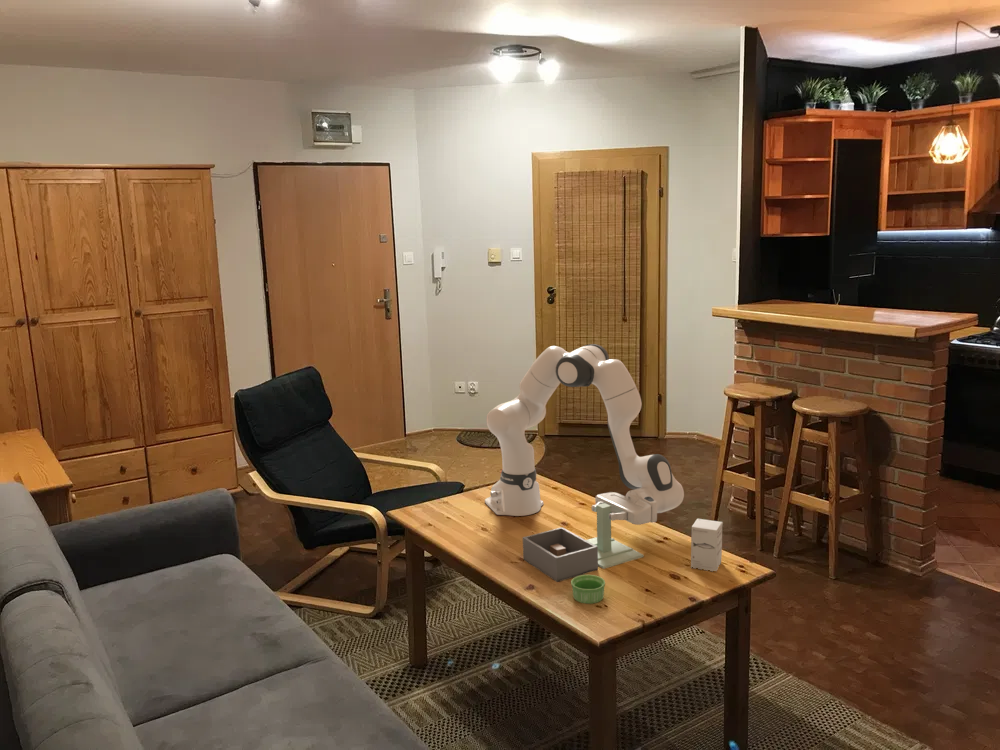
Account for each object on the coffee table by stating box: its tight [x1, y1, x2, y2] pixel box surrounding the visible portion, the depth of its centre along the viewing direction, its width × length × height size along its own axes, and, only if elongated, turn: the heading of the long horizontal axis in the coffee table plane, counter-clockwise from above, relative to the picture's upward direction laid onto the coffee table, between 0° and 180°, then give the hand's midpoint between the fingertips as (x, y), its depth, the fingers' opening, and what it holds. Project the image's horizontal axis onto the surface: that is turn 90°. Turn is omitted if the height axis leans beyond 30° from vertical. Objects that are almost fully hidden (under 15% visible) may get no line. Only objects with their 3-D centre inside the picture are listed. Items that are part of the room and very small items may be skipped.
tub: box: [522, 526, 599, 583], centre depth 230 cm, size 18×14×7 cm
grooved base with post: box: [585, 503, 644, 570], centre depth 237 cm, size 19×15×15 cm
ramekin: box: [570, 574, 606, 605], centre depth 210 cm, size 9×9×4 cm
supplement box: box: [690, 518, 723, 572], centre depth 225 cm, size 7×7×13 cm
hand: (601, 513), depth 236 cm, fingers open, 7 cm apart
